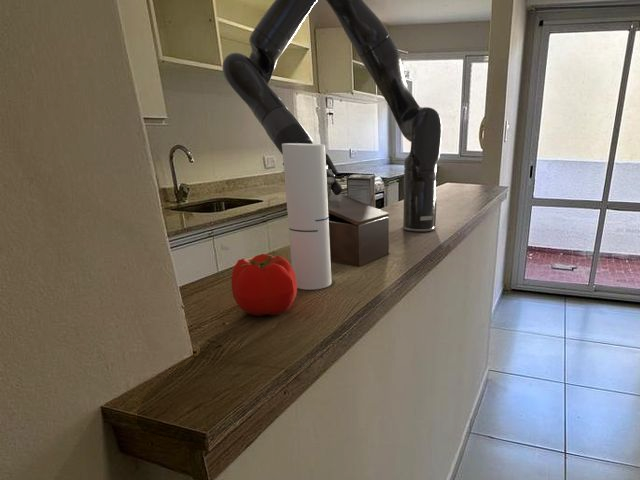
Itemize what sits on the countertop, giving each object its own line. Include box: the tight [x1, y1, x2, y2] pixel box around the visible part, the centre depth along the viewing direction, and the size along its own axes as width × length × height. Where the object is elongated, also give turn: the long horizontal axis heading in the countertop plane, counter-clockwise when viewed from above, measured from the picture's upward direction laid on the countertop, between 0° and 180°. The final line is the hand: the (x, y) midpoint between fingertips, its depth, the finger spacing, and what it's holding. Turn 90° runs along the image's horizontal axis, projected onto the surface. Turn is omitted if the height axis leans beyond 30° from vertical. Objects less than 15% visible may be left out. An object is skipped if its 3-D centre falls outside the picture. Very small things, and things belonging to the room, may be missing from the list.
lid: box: [326, 176, 390, 225], centre depth 100 cm, size 16×13×5 cm
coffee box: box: [346, 174, 376, 208], centre depth 119 cm, size 9×6×16 cm
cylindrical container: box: [282, 143, 333, 291], centre depth 81 cm, size 7×7×25 cm
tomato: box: [230, 253, 298, 317], centre depth 71 cm, size 11×11×9 cm
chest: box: [328, 213, 390, 267], centre depth 104 cm, size 16×13×9 cm
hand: (331, 193), depth 101 cm, fingers closed on lid, 5 cm apart
